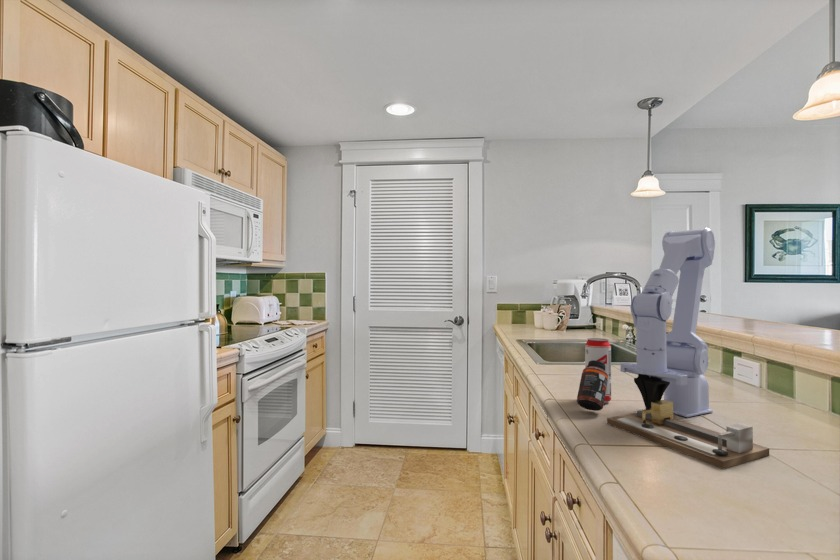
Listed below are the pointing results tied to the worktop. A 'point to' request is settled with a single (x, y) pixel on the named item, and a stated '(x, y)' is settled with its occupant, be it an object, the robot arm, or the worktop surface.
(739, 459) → the board
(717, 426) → the worktop surface
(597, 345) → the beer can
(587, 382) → the supplement bottle
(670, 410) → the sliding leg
